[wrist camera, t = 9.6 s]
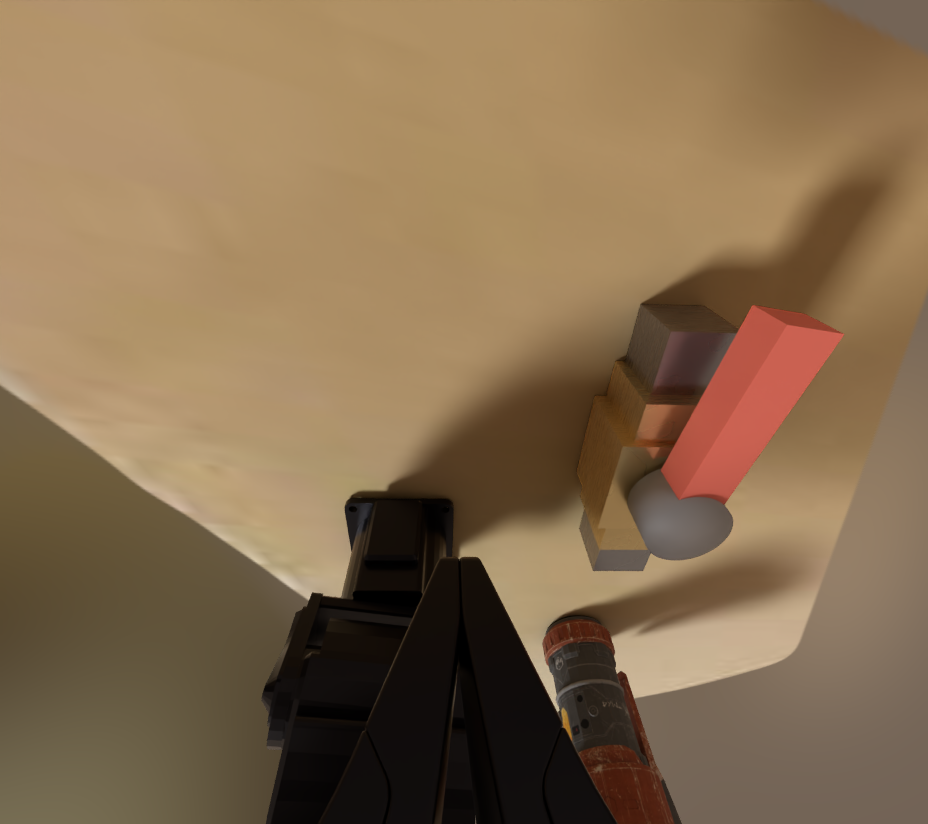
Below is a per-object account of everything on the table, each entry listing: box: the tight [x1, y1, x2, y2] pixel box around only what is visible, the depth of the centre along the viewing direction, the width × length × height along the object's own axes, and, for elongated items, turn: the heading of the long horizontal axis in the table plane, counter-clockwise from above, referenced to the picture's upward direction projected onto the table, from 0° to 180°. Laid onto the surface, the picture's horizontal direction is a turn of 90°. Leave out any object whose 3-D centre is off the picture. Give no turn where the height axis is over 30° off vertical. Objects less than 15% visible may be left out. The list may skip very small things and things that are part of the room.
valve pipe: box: [577, 304, 739, 571], centre depth 22 cm, size 15×5×4 cm, turn 178°
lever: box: [627, 305, 844, 560], centre depth 17 cm, size 11×4×2 cm, turn 170°
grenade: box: [543, 616, 682, 824], centre depth 28 cm, size 6×8×15 cm
